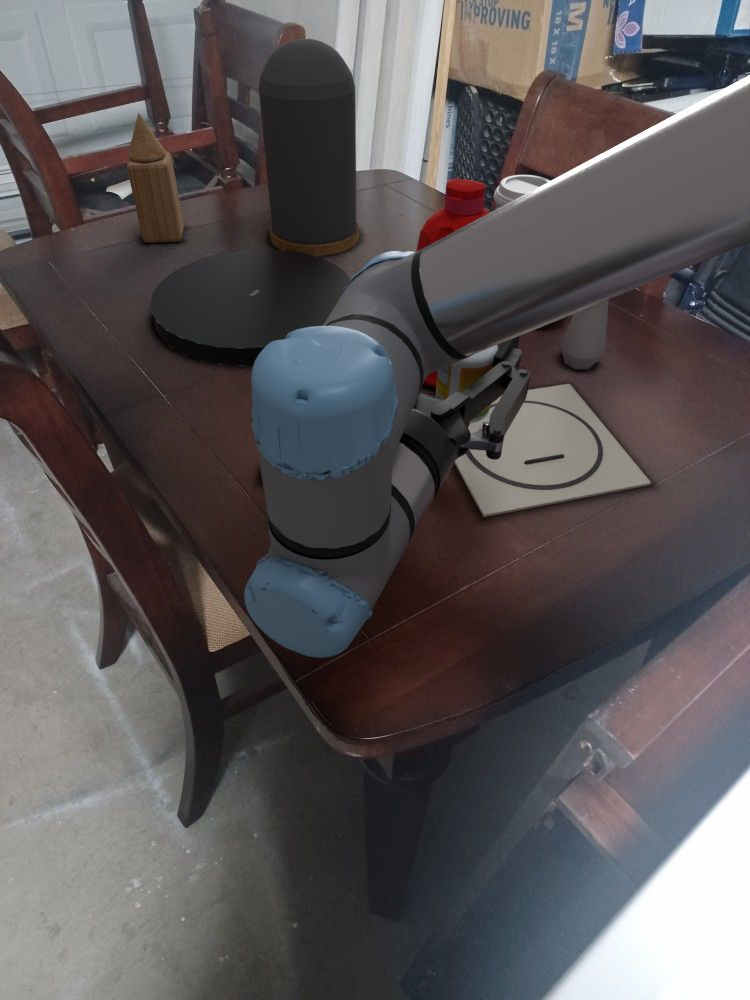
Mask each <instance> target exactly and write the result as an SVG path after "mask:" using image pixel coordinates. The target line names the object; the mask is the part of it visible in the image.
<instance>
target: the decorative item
mask: <svg viewBox="0 0 750 1000" xmlns="http://www.w3.org/2000/svg"><path fill="white" fill-rule="evenodd" d="M127 155H128V159H129V160H128V161H127V165H126V171H127V175H128V179H129V183H130V188H131V193H132V197H133V202H134V206H135V210H136V214H137V219H138V223H139V224H138V225H139V227H140V232H141V236H142V240H143V242H144V243H146V244H152V243H153V244H156V243H176V242H177V243H179V242H180V241H182V239H183V232H184V228H185V224H184V217H183V213H182V212H183V211H182V206H181V202H180V201H181V200H180V197H179V190H178V185H177V178H176V174H175V169H174V163H173V157H172V154H171V153H170V152H169V151H166V149H165V148H164V146H163V145H162V144H161V143H160V141H159V139H158V138H157V137H156V135H155V133H154V132H153V131H152V129H151V128H150V126H149V125H148V124H147V122H146V121H145V119H144V118H143V116H142V115H141V113H140V112H138V113H137V117H136V121H135V125H134V129H133V133H132V137H131V141H130V144H129V148H128V152H127Z"/></svg>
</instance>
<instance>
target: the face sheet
mask: <svg viewBox="0 0 750 1000" xmlns="http://www.w3.org/2000/svg"><path fill="white" fill-rule="evenodd" d="M501 397H502V396H500V397H499V398H498V399H497V400H496V401H494V402H493V403H492V404H491V406H490V410H489V413H488V414H487V416H486V417H485V418H483V419H482V420H480V421H478V422H474V423H468V425H467V427H468V429H469V431H470V433H473V432H476V431H478V429H479V427H481V426H483V422H484V421H489V420H490V416H491V413H492V411H493V410H494V408H495V406H496V405H497V403H498V402H499V400H500V398H501ZM453 465H454V466H455V468H456V469H457V471H458V473H459V475H460V477H461V478H462V480H463V482H464V484H465V486H466V488H467V490H468V492H469V493H470V496H471V497H472V499H473V501H474V503H475V505H476V506H477V508H478V510H479V512H480V514H481V516H482V517H483V518H487V517H492V516H498V515H503V514H508V513H509V514H510V513H513V512H518V511H519V512H520V511H524V510H530V509H534V508H540V507H545V506H550V505H555V504H561V503H565V502H571V501H576V500H580V499H587V498H592V497H597V496H601V495H607V494H611V493H612V494H613V493H618V492H622V491H627V490H632V489H637V488H643V487H649V486H651V484H652V481H651V480H650V479H649V478H648V477H647V475H646V474H645V473H643V470H641V469H640V467H639V466H638V465H637V464H636V462H635V461H634V460H633V458H631V456H630V455H629V453H627V451H626V450H625V449H624V447H622V445H621V444H620V443H619V442H618V441H617V439H616V438H615V437H614V436H613V434H612V433H611V432H610V431H609V429H607V427H606V426H605V425H604V423H603V422H602V421H601V420H600V419H599V418H598V417H597V415H596V414H595V412H594V411H593V410H592V409H591V408H590V406H589V405H588V404H587V403H586V401H585V400H584V399H583V398H582V397H581V395H579V393H578V392H577V390H576V389H575V388H574V386H572V384H571V383H565V384H557V385H552V386H546V387H545V386H544V387H539V388H533V389H528V392H527V396H526V399H525V401H524V403H523V405H522V406H521V408H520V410H519V412H518V413H517V415H516V417H515V418H514V420H513V422H512V424H511V425H510V427H509V429H508V431H507V432H506V434H505V436H504V442H503V448H502V453H501V457H500V458H499V459H497V460H493V459H489V458H488V457H487V456H486V451H485V450H471V449H469V450H468V452H467V453H466V454H465V455H463V456H461V457H459V458H458V459H456V460H455V462H454V464H453Z"/></svg>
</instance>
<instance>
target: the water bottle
mask: <svg viewBox="0 0 750 1000" xmlns="http://www.w3.org/2000/svg"><path fill="white" fill-rule="evenodd" d="M486 186H487V185H486V184H485V183H483V182H479V181H475V180H472V179H466V178H465V179H464V178H451V179H449V180H447V182H446V184H445V195H444V206H443V207H441V208H440V209H438V210H437V211H435V212H434V213H433V214H432V215H431V216H429V218H427V220H425V223H424V224H423V226H422V227H421V229H420V231H419V236H418V239H417V245H416V250H415V252H417V251H419V250H421V249H423V248H425V247H427V246H429V245H430V244H432V243H434V242H436V241H438V240H440V239H442V238H444V237H446V236H447V235H449V234H451V233H453V232H455V231H457V230H459V229H461V228H463V227H464V226H466V225H468V224H470V223H472V222H474V221H476V220H478V219H480V218H481V217H483V216H485V215H487V214H489V213H491V211H489V210H487V209H486V208H484V206H485V195H486ZM437 371H438V370H437ZM437 371H434V372H432V373H431V374H429V375H428V376H427V377H426V378H425V380H424V383H423V386H428V387H431V388H436V383H437Z"/></svg>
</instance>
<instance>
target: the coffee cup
mask: <svg viewBox="0 0 750 1000" xmlns="http://www.w3.org/2000/svg"><path fill="white" fill-rule="evenodd" d="M549 181H551V180H550V179H548V178H545V177H542V176H538V175H532V174H513V175H509V176H505V178H503V179H502V180H501V181H500V183H499V185H498V186H497V187H496V189H495V191H494V192H493V193H494V194H493V200H494V202H495V210H497V209H498V208H500V207H502V206H504V205H506V204H508V203H510V202H512V201H513V200H515V199H517V198H519V197H521V196H523V195H525V194H527V193H529V192H530V191H532V190H534V189H536V188H538V187H540V186H542V185H544V184H546V183H547V182H549Z"/></svg>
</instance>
